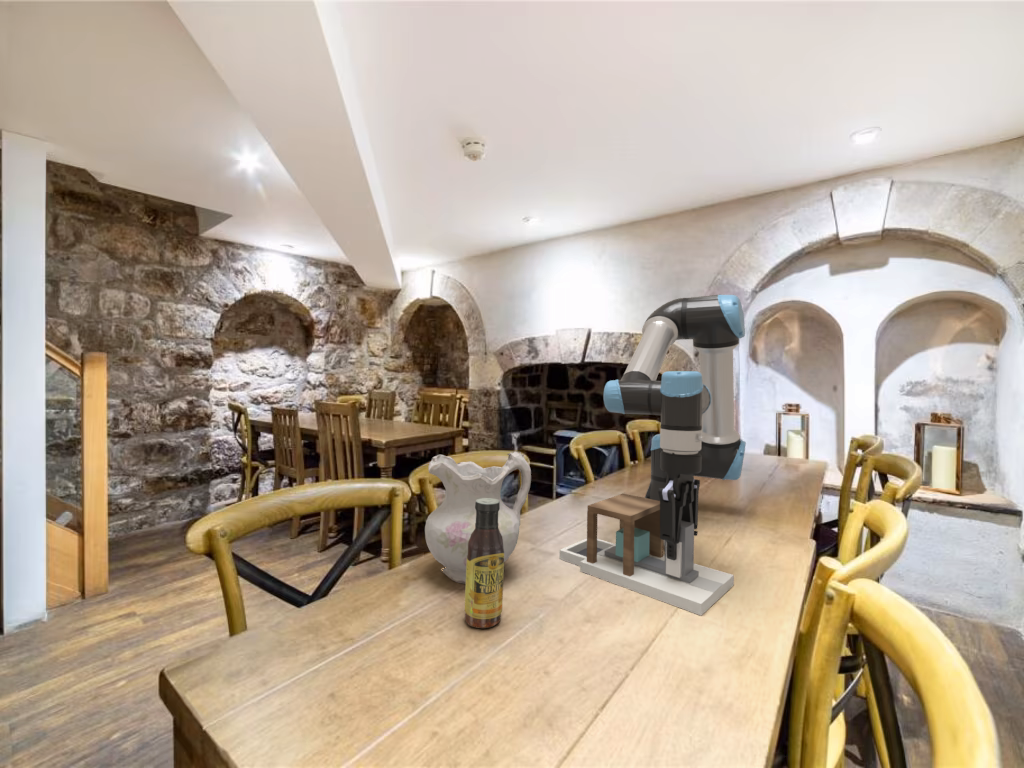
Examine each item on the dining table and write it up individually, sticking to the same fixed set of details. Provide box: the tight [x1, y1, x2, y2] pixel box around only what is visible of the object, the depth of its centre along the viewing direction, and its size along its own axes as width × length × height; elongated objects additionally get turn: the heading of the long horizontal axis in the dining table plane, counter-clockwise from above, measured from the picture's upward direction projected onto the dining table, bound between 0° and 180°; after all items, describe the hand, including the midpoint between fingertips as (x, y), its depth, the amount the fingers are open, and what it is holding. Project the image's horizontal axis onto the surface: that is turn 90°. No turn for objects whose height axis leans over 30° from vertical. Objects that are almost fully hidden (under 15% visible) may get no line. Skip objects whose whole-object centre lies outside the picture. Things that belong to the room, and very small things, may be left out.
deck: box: [559, 537, 735, 616], centre depth 94 cm, size 16×32×2 cm, turn 46°
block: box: [615, 528, 650, 562], centre depth 95 cm, size 5×5×5 cm
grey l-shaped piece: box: [605, 521, 699, 583], centre depth 92 cm, size 4×18×10 cm, turn 46°
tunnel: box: [586, 493, 664, 577], centre depth 96 cm, size 14×10×12 cm
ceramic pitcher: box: [424, 450, 532, 585], centre depth 94 cm, size 22×20×25 cm
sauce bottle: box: [464, 498, 505, 629], centre depth 75 cm, size 6×6×20 cm
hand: (678, 571), depth 88 cm, fingers closed on grey l-shaped piece, 4 cm apart
